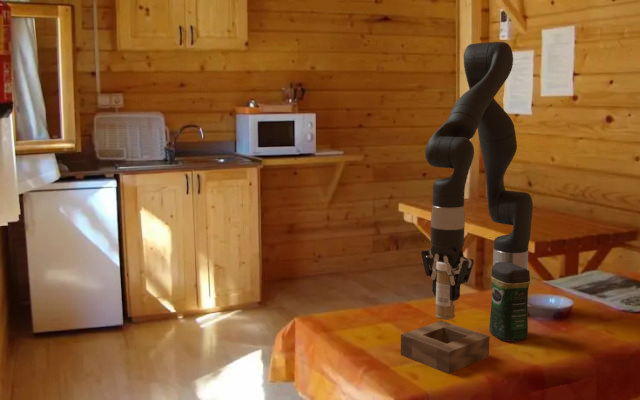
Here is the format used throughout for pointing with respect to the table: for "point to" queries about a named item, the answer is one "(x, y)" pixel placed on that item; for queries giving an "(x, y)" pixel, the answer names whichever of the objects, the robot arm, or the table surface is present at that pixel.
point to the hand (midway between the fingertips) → (445, 297)
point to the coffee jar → (509, 301)
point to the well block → (445, 346)
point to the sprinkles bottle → (443, 293)
